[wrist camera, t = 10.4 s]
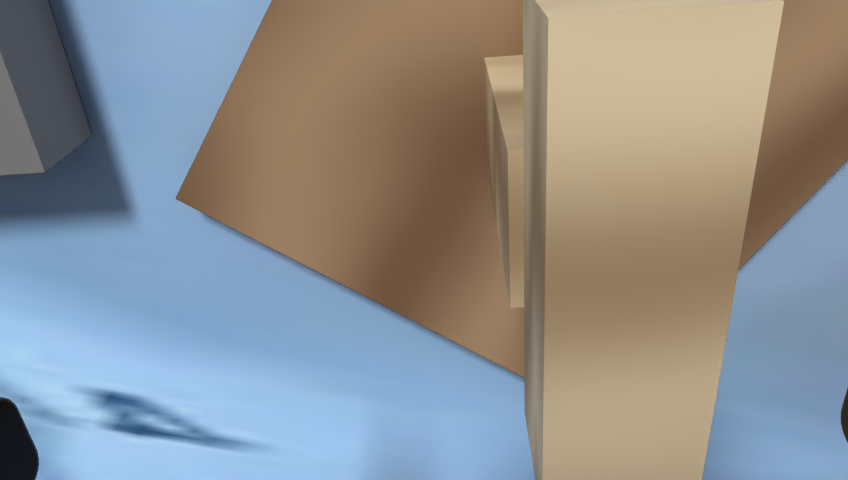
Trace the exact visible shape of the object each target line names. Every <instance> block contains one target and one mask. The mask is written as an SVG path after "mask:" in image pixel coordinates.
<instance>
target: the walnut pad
mask: <svg viewBox="0 0 848 480" xmlns="http://www.w3.org/2000/svg"><path fill="white" fill-rule="evenodd" d="M783 1H784V6H783V11H782V17H781V23H780V29H779V35H778V41H777V46H776V52H775V58H774V64H773V70H772V75H771V81H770V87H769V93H768V99H767V105H766V110H765V116H764V122H763V128H762V134H761V139H760V145H759V151H758V157H757V163H756V169H755V174H754V180H753V186H752V192H751V198H750V203H749V209H748V215H747V221H746V227H745V233H744V238H743V244H742V250H741V256H740V262H739V267H738V269H739V268H740V267H741V266H742V265H743V264H744V263H745V262H746V261H747V260H748V259H749V258H750V257H751V256H752V255H753V254H754V253H755V252H756V251H757V250H758V249H759V248H760V247H761V246H762V245H763V244H764V243H765V242H766V241H767V240H768V239H769V238H770V237H771V236H772V235H773V234H774V233H775V232H776V231H777V230H778V229H779V228H780V227H781V226H782V225H783V224H784V223H785V222H786V221H787V220H788V219H789V218H790V217H791V216H792V215H793V214H794V213H795V212H796V211H797V210H798V209H799V208H800V207H801V206H802V205H803V204H804V203H805V202H806V201H807V200H808V199H809V198H810V197H811V196H812V195H813V194H814V193H815V192H816V191H817V190H818V189H819V188H820V187H821V186H822V185H823V184H824V183H825V182H826V181H827V180H828V179H829V178H830V177H831V176H832V175H833V174H834V173H835V172H836V171H837V170H838V169H839V168H840V167H841V166H842V165H843V164H844V163H845V162H846V161H847V160H848V0H783ZM515 55H523V0H272V1H271V3H270V5H269V7H268V10H267V12H266V14H265V16H264V18H263V20H262V22H261V24H260V26H259V28H258V30H257V32H256V34H255V36H254V38H253V40H252V42H251V44H250V47H249V49H248V51H247V53H246V55H245V57H244V59H243V61H242V63H241V65H240V67H239V69H238V71H237V73H236V75H235V77H234V79H233V81H232V83H231V86H230V88H229V90H228V92H227V94H226V96H225V98H224V100H223V102H222V104H221V106H220V108H219V110H218V112H217V114H216V116H215V118H214V120H213V123H212V125H211V127H210V129H209V131H208V133H207V135H206V137H205V139H204V141H203V143H202V145H201V147H200V149H199V151H198V153H197V155H196V157H195V160H194V162H193V164H192V166H191V168H190V170H189V172H188V174H187V176H186V178H185V180H184V182H183V184H182V186H181V188H180V190H179V192H178V194H177V196H176V199H177V200H179V201H181V202H183V203H185V204H187V205H189V206H190V207H192V208H194V209H196V210H198V211H200V212H202V213H204V214H206V215H208V216H210V217H212V218H214V219H216V220H218V221H220V222H222V223H224V224H226V225H227V226H229V227H231V228H233V229H235V230H237V231H239V232H241V233H243V234H245V235H247V236H249V237H251V238H253V239H255V240H257V241H259V242H261V243H263V244H265V245H266V246H268V247H270V248H272V249H274V250H276V251H278V252H280V253H282V254H284V255H286V256H288V257H290V258H292V259H294V260H296V261H298V262H300V263H302V264H304V265H305V266H307V267H309V268H311V269H313V270H315V271H317V272H319V273H321V274H323V275H325V276H327V277H329V278H331V279H333V280H335V281H337V282H339V283H341V284H342V285H344V286H346V287H348V288H350V289H352V290H354V291H356V292H358V293H360V294H362V295H364V296H366V297H368V298H370V299H372V300H374V301H376V302H378V303H380V304H381V305H383V306H385V307H387V308H389V309H391V310H393V311H395V312H397V313H399V314H401V315H403V316H405V317H407V318H409V319H411V320H413V321H415V322H417V323H419V324H420V325H422V326H424V327H426V328H428V329H430V330H432V331H434V332H436V333H438V334H440V335H442V336H444V337H446V338H448V339H450V340H452V341H454V342H456V343H458V344H459V345H461V346H463V347H465V348H467V349H469V350H471V351H473V352H475V353H477V354H479V355H481V356H483V357H485V358H487V359H489V360H491V361H493V362H495V363H496V364H498V365H500V366H502V367H504V368H506V369H508V370H510V371H512V372H514V373H516V374H518V375H520V376H522V377H524V378H525V366H524V307H516V308H510V303H509V297H508V291H507V285H506V280H505V274H504V268H503V262H502V256H501V250H500V244H499V238H498V232H497V226H496V220H495V214H494V208H493V202H492V196H491V190H490V184H489V178H488V160H487V129H486V97H485V66H484V58H487V57H501V56H515Z"/></svg>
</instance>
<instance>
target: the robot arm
mask: <svg viewBox="0 0 848 480" xmlns="http://www.w3.org/2000/svg"><path fill="white" fill-rule="evenodd" d="M841 425H842V429H843V433H844V435H845V438H846V440H847V442H848V389H847V392H846V396H845V399H844V402H843V406H842V410H841ZM38 466H39V458H38V452H37V449H36V447H35V445H34V443H33V440H32V438H31V436H30V434H29V432H28V430H27V427H26V425H25V423H24V421H23V419H22V417H21V415H20V412H19V410H18V408H17V406H16V405H15V404H14V403H13V402H12V401H11V400H9V399H7V398H2V397H0V480H35V479H36V476H37V472H38Z"/></svg>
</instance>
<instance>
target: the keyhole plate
mask: <svg viewBox="0 0 848 480" xmlns="http://www.w3.org/2000/svg"><path fill="white" fill-rule="evenodd" d="M91 136H92V134H91V131H90V128H89V125H88V121H87V118H86V115H85V112H84V109H83V106H82V103H81V100H80V97H79V94H78V91H77V88H76V85H75V82H74V78H73V75H72V72H71V69H70V66H69V63H68V60H67V57H66V54H65V51H64V48H63V45H62V42H61V39H60V35H59V32H58V29H57V26H56V23H55V20H54V17H53V14H52V11H51V8H50V5H49V2H48V0H0V175H12V174H27V173H43V172H46V171H47V170H49V169H50V168H51V167H52V166H54V165H55V164H56V163H58V162H59V161H60V160H61V159H63V158H64V157H65V156H66V155H68V154H69V153H70V152H72V151H73V150H74V149H75V148H77V147H78V146H79V145H80V144H82V143H83V142H84V141H86V140H87V139H88V138H89V137H91Z"/></svg>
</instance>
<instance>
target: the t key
mask: <svg viewBox="0 0 848 480" xmlns="http://www.w3.org/2000/svg"><path fill="white" fill-rule="evenodd" d="M783 6H784V1H783V0H523V55H515V56H501V57H487V58H484V66H485V97H486V129H487V160H488V178H489V184H490V190H491V196H492V202H493V208H494V214H495V220H496V226H497V232H498V238H499V244H500V250H501V256H502V262H503V268H504V274H505V280H506V285H507V291H508V297H509V303H510V308H516V307H524V366H525V417H526V423H527V429H528V435H529V442H530V448H531V454H532V460H533V466H534V473H535V479H536V480H702V477H703V471H704V465H705V459H706V454H707V448H708V442H709V436H710V430H711V425H712V419H713V413H714V407H715V401H716V395H717V390H718V384H719V378H720V372H721V366H722V361H723V355H724V349H725V343H726V337H727V331H728V326H729V320H730V314H731V308H732V302H733V297H734V291H735V285H736V279H737V273H738V267H739V262H740V256H741V250H742V244H743V238H744V233H745V227H746V221H747V215H748V209H749V203H750V198H751V192H752V186H753V180H754V174H755V169H756V163H757V157H758V151H759V145H760V139H761V134H762V128H763V122H764V116H765V110H766V105H767V99H768V93H769V87H770V81H771V75H772V70H773V64H774V58H775V52H776V46H777V41H778V35H779V29H780V23H781V17H782V11H783Z"/></svg>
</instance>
